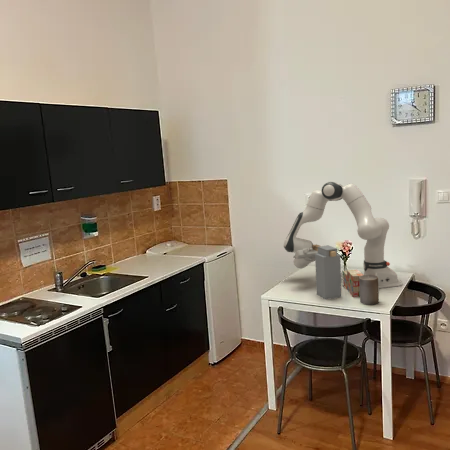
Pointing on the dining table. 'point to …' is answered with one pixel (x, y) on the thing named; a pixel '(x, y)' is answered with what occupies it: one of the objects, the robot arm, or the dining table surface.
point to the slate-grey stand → (328, 273)
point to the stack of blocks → (352, 282)
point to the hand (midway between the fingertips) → (316, 248)
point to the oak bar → (331, 253)
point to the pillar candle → (369, 289)
